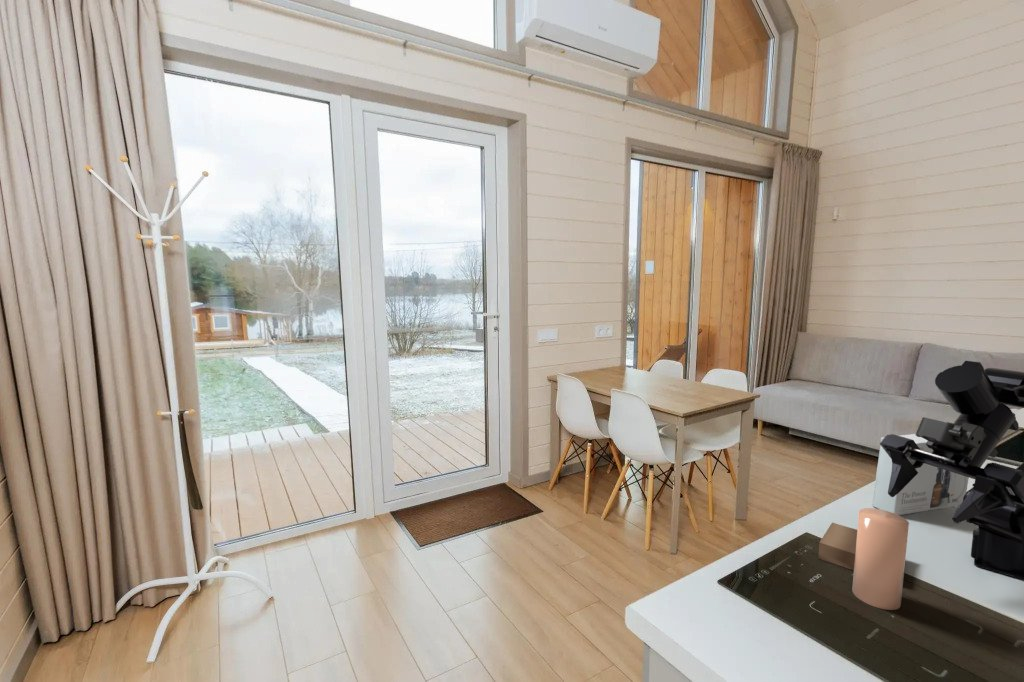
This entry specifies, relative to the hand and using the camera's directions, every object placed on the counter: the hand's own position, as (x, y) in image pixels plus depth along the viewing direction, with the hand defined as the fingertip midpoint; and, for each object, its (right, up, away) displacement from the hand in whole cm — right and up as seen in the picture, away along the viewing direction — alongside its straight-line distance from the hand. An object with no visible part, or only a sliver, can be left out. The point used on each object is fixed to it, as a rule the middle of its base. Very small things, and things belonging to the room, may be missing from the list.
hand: (920, 507), depth 75 cm
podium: (-3, -12, +10) cm, 16 cm away
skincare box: (+25, -10, +30) cm, 40 cm away
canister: (-8, -14, -1) cm, 16 cm away
